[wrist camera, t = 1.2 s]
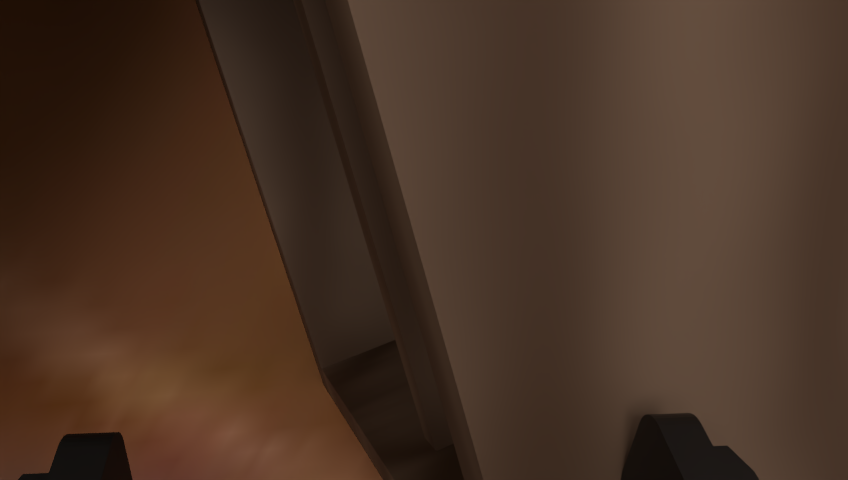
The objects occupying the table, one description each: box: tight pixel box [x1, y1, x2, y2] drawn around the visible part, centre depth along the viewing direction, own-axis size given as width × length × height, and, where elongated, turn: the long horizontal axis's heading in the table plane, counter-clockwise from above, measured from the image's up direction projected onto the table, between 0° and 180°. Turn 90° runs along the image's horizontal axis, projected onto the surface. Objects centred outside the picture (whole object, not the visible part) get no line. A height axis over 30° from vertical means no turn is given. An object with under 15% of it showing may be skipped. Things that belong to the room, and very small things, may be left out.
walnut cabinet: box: [195, 0, 848, 480], centre depth 22 cm, size 16×24×20 cm, turn 16°
